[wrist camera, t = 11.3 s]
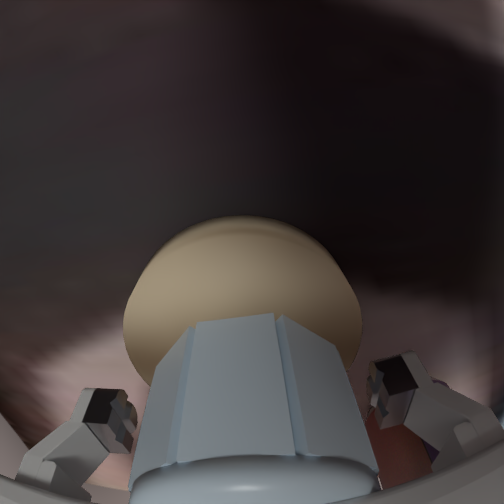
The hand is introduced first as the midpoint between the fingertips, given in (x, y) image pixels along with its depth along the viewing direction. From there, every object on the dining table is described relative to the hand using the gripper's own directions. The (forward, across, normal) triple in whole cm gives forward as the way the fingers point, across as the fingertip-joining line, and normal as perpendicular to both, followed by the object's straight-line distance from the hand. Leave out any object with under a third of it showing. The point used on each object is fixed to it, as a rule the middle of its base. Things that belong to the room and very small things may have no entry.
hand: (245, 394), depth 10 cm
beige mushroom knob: (+4, 0, 0) cm, 4 cm away
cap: (+1, 0, 0) cm, 1 cm away
